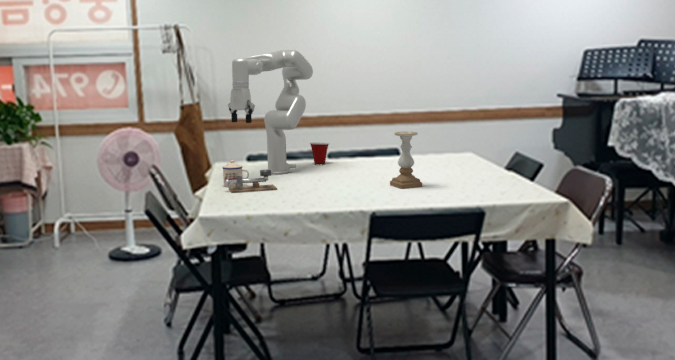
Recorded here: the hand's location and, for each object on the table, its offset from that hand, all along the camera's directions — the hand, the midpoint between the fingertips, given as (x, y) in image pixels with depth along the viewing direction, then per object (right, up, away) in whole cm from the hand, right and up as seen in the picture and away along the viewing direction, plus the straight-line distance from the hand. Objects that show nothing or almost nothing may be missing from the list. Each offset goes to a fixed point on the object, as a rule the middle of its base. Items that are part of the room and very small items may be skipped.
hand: (241, 122), depth 319 cm
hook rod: (+6, -29, -20) cm, 35 cm away
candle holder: (+76, -30, -17) cm, 83 cm away
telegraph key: (+8, -31, -19) cm, 37 cm away
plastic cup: (+36, -19, +54) cm, 67 cm away
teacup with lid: (-1, -30, -8) cm, 31 cm away
